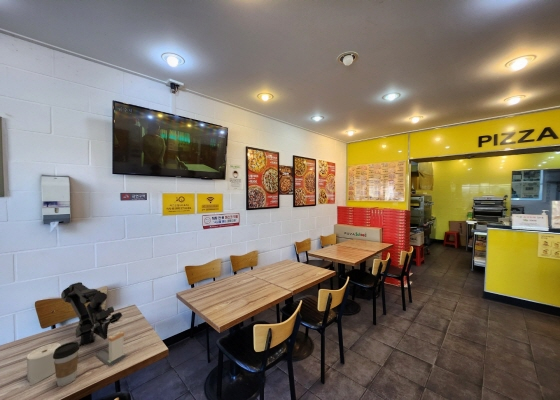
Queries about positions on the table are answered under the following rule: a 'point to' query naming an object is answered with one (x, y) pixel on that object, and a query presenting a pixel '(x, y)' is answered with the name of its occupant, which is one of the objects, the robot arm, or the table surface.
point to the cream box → (116, 345)
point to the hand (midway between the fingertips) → (105, 338)
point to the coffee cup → (66, 362)
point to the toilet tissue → (41, 363)
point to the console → (104, 357)
